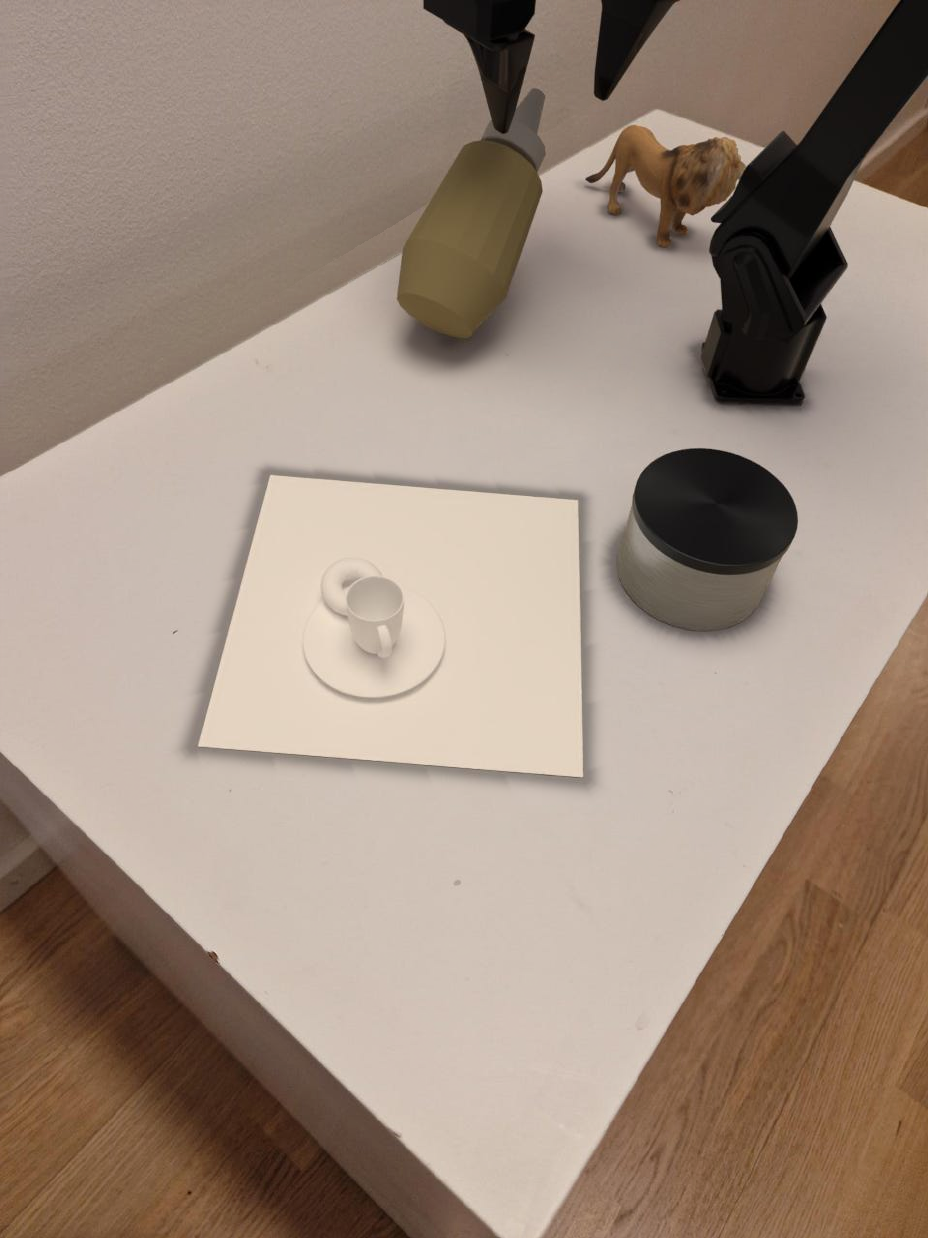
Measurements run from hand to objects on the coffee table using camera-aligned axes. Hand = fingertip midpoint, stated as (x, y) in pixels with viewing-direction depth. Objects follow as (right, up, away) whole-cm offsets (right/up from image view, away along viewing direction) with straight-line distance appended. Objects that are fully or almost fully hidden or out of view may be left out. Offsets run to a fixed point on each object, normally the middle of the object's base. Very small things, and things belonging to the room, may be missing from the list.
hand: (551, 114), depth 64 cm
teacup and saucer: (-9, -34, -10) cm, 37 cm away
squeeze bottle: (-8, -14, +2) cm, 16 cm away
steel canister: (+8, -32, -7) cm, 34 cm away
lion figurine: (+11, 0, +17) cm, 20 cm away
